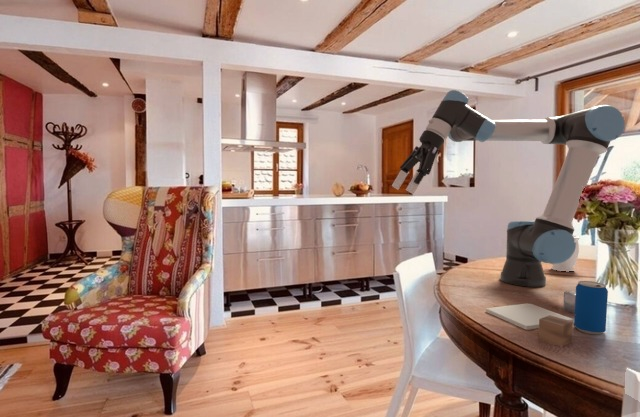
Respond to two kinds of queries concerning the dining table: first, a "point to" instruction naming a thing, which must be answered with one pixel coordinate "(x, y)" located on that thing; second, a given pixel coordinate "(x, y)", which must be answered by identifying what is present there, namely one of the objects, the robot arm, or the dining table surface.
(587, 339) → the dining table surface
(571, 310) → the grey metal tin
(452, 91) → the robot arm
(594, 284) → the beverage can
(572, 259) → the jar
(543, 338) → the walnut block
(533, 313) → the white board
